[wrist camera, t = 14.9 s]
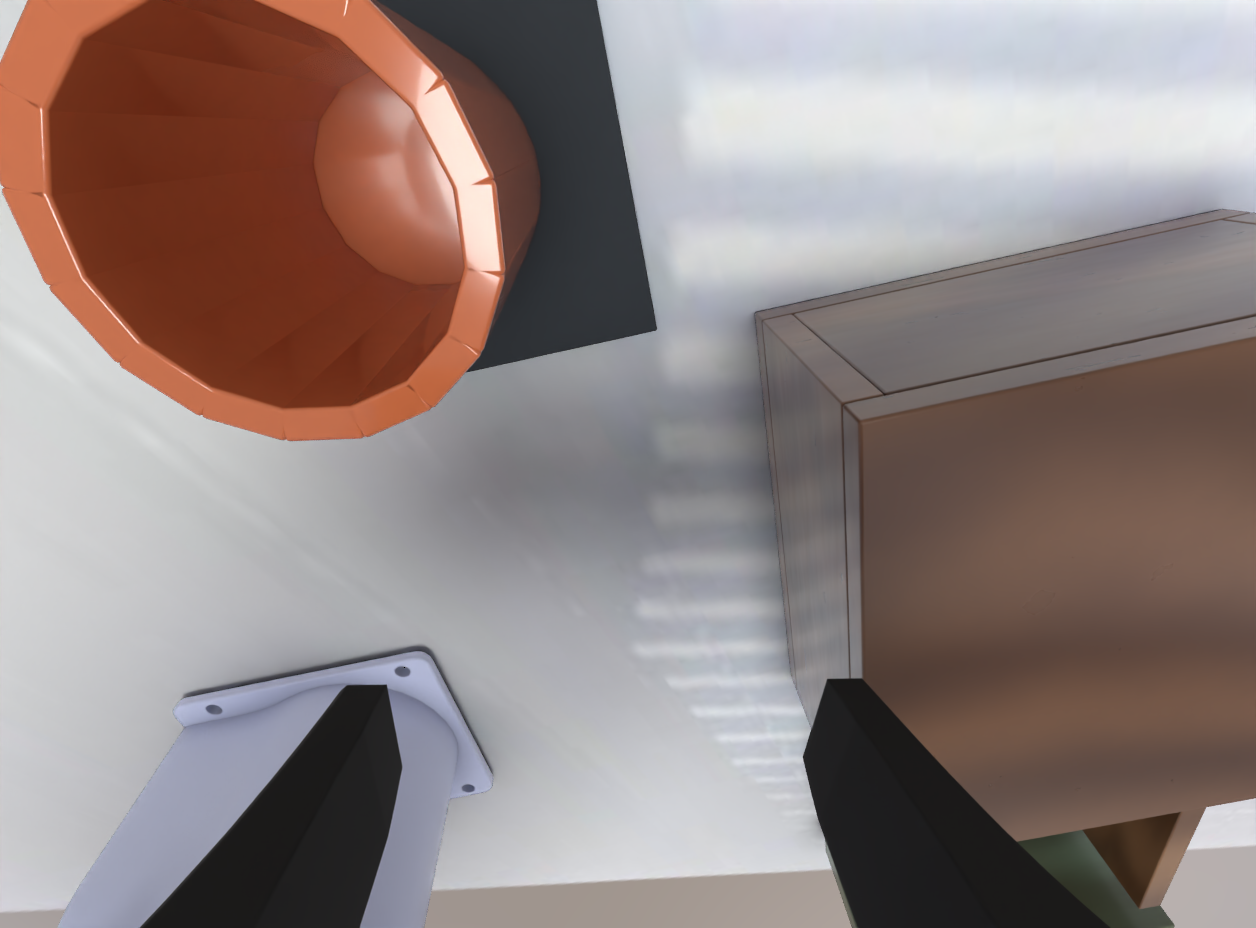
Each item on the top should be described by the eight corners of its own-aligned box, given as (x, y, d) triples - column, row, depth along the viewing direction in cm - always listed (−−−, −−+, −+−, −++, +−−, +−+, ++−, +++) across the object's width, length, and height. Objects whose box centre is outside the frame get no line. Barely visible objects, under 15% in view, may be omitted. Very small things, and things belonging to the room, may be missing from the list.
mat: (305, 403, 17) (299, 409, 16) (72, -50, 12) (57, -55, 12) (655, 326, 16) (657, 330, 16) (563, -175, 12) (562, -185, 11)
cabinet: (1115, 611, 23) (1312, 789, 17) (790, 675, 23) (865, 870, 17) (1223, 208, 16) (1634, 257, 10) (754, 312, 16) (859, 422, 10)
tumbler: (449, 342, 16) (344, 509, 9) (254, 185, 14) (-84, 240, 7) (588, 180, 14) (594, 227, 7) (390, -27, 12) (130, -243, 5)
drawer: (1066, 819, 28) (1161, 954, 24) (826, 864, 29) (873, 1004, 24) (1131, 585, 21) (1285, 712, 16) (810, 648, 22) (873, 790, 17)
